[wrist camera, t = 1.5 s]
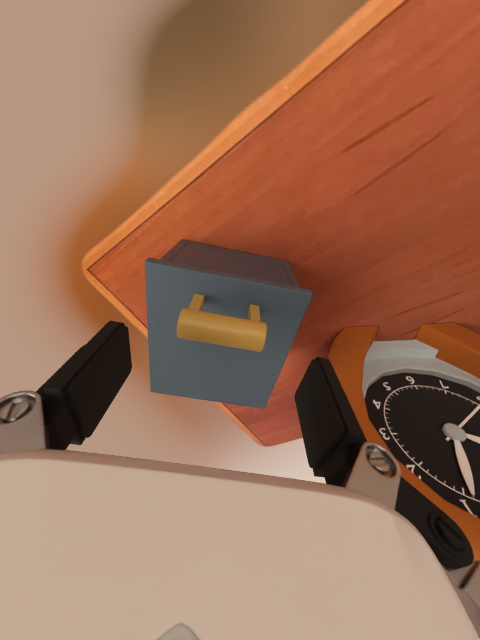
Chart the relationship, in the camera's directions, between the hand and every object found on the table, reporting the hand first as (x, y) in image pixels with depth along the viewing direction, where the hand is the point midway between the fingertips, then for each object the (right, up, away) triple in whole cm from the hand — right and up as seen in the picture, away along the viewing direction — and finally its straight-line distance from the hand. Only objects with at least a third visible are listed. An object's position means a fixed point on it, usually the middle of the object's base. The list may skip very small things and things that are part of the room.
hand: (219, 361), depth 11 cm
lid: (-1, 0, +8) cm, 8 cm away
